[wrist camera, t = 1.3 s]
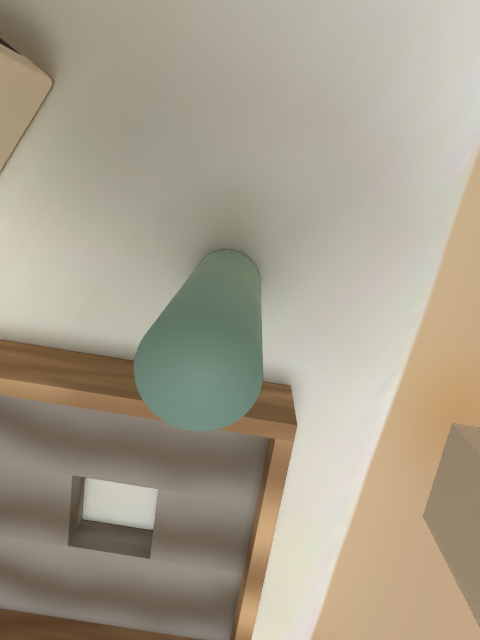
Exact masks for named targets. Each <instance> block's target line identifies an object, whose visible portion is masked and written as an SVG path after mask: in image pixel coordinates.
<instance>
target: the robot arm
mask: <svg viewBox="0 0 480 640" xmlns="http://www.w3.org/2000/svg"><path fill="white" fill-rule="evenodd" d="M423 517H424V519H425V521H426V523H427V525H428V527H429V529H430V531H431V533H432V535H433V537H434V539H435V541H436V543H437V545H438V547H439V549H440V550H441V552H442V554H443V556H444V558H445V560H446V562H447V564H448V566H449V568H450V570H451V572H452V574H453V576H454V578H455V580H456V582H457V584H458V586H459V588H460V589H461V591H462V593H463V595H464V597H465V599H466V601H467V603H468V605H469V607H470V609H471V611H472V613H473V615H474V617H475V619H476V621H477V623H478V625H479V627H480V427H474V426H468V425H462V424H456V423H452V425H451V428H450V432H449V435H448V438H447V441H446V445H445V447H444V451H443V454H442V457H441V460H440V463H439V467H438V470H437V473H436V476H435V479H434V482H433V486H432V489H431V492H430V495H429V498H428V501H427V505H426V508H425V511H424V514H423Z"/></svg>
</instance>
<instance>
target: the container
mask: <svg viewBox="0 0 480 640" xmlns="http://www.w3.org/2000/svg"><path fill="white" fill-rule="evenodd" d="M51 86H52V81H51V79H50V77H49V76H48V75H47V74H46V73H44V72H43V71H42V70H41V69H40V68H38V67H37V66H36V65H35V64H33V63H32V62H31V61H30V60H29V59H27V58H26V57H25V56H24V55H22V54H21V53H20V52H19V51H17V50H16V49H15V48H14V47H13V46H11V45H10V44H9V43H8V42H6V41H5V40H4V39H3V38H2V37H0V171H1V169H2V167H3V166H4V164H5V163H6V161H7V159H8V158H9V156H10V154H11V153H12V151H13V149H14V148H15V146H16V144H17V143H18V141H19V139H20V138H21V136H22V135H23V133H24V131H25V130H26V128H27V126H28V125H29V123H30V121H31V120H32V118H33V116H34V115H35V113H36V111H37V110H38V108H39V107H40V105H41V103H42V102H43V100H44V98H45V97H46V95H47V93H48V92H49V90H50V88H51Z"/></svg>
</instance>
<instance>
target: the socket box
mask: <svg viewBox="0 0 480 640" xmlns="http://www.w3.org/2000/svg"><path fill="white" fill-rule="evenodd" d="M296 429H297V421H296V415H295V409H294V403H293V397H292V391H291V386H286V385H280V384H273V383H267V382H262V386H261V390H260V393H259V395H258V398H257V400H256V401H255V403H254V405H253V406H252V407H251V409H250V410H249V411H248V412H247V413H246V414H245V415H244V416H243V417H242V418H240V419H239V420H238V421H236V422H234V423H233V424H231V425H229V426H226V427H224V428H221V429H217V430H212V431H190V430H185V429H181V428H178V427H175V426H173V425H171V424H169V423H167V422H165V421H164V420H162V419H160V418H159V417H158V416H157V415H155V414H154V413H153V412H152V411H151V410H150V409H149V408H148V406H147V405H146V404H145V402H144V401H143V399H142V397H141V396H140V394H139V391H138V389H137V386H136V383H135V378H134V361H130V360H123V359H117V358H111V357H105V356H98V355H92V354H86V353H80V352H73V351H67V350H61V349H55V348H48V347H42V346H36V345H30V344H23V343H17V342H11V341H5V340H0V640H251V638H252V633H253V629H254V624H255V619H256V615H257V610H258V605H259V601H260V596H261V592H262V587H263V582H264V578H265V573H266V568H267V564H268V559H269V554H270V550H271V545H272V540H273V536H274V531H275V526H276V522H277V517H278V512H279V508H280V503H281V498H282V494H283V489H284V485H285V480H286V475H287V471H288V466H289V461H290V457H291V452H292V447H293V443H294V438H295V433H296ZM85 477H86V478H92V479H98V480H105V481H111V482H117V483H124V484H130V485H136V486H143V487H149V488H155V489H159V490H158V498H157V506H156V514H155V522H154V530H153V531H150V530H144V529H138V528H131V527H125V526H118V525H112V524H106V523H99V522H93V521H87V520H82V510H83V495H84V481H85Z"/></svg>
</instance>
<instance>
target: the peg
mask: <svg viewBox="0 0 480 640" xmlns="http://www.w3.org/2000/svg"><path fill="white" fill-rule="evenodd" d="M134 378H135V383H136V386H137V389H138V391H139V394H140V396H141V397H142V399H143V401H144V402H145V404H146V405H147V406H148V408H149V409H150V410H151V411H152V412H153V413H154V414H155V415H157V416H158V417H159V418H160V419H162V420H164V421H165V422H167V423H169V424H171V425H173V426H175V427H178V428H181V429H185V430H190V431H212V430H217V429H221V428H224V427H226V426H229V425H231V424H233V423H234V422H236V421H238V420H239V419H240V418H242V417H243V416H244V415H245V414H246V413H247V412H248V411H249V410H250V409H251V407H252V406H253V405H254V403H255V401H256V400H257V398H258V395H259V393H260V390H261V386H262V381H263V357H262V319H261V282H260V274H259V271H258V269H257V267H256V265H255V264H254V262H253V261H252V260H251V259H250V258H249V257H248V256H246V255H245V254H243V253H241V252H239V251H236V250H230V249H223V250H218V251H215V252H213V253H211V254H209V255H208V256H206V257H205V258H204V259H203V260H202V261H201V262H200V264H199V265H198V266H197V268H196V269H195V270H194V272H193V273H192V274H191V275H190V277H189V278H188V279H187V281H186V282H185V283H184V285H183V286H182V287H181V289H180V290H179V291H178V292H177V294H176V295H175V296H174V298H173V299H172V300H171V302H170V303H169V304H168V306H167V307H166V308H165V310H164V311H163V312H162V313H161V315H160V316H159V317H158V319H157V320H156V321H155V323H154V324H153V325H152V327H151V328H150V329H149V330H148V332H147V333H146V334H145V336H144V337H143V339H142V340H141V342H140V344H139V346H138V348H137V352H136V355H135V360H134Z"/></svg>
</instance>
